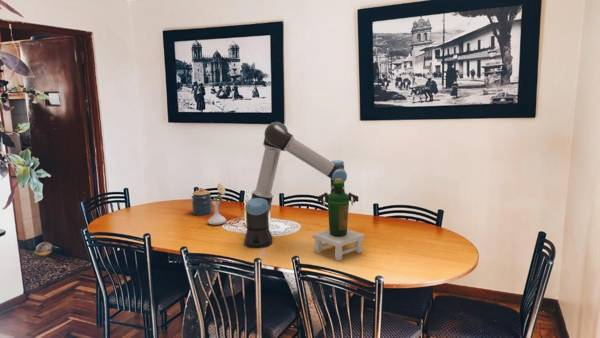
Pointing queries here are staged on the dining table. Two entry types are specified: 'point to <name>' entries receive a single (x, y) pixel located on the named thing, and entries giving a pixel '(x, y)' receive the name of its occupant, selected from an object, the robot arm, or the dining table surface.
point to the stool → (338, 242)
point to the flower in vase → (217, 217)
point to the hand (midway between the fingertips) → (338, 202)
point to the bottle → (338, 209)
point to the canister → (201, 202)
